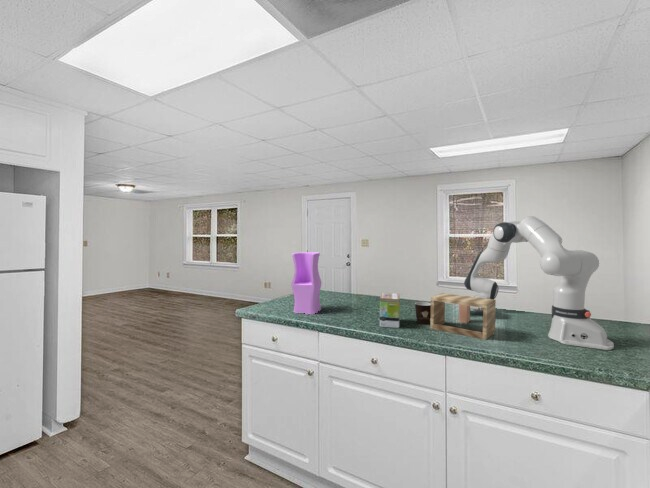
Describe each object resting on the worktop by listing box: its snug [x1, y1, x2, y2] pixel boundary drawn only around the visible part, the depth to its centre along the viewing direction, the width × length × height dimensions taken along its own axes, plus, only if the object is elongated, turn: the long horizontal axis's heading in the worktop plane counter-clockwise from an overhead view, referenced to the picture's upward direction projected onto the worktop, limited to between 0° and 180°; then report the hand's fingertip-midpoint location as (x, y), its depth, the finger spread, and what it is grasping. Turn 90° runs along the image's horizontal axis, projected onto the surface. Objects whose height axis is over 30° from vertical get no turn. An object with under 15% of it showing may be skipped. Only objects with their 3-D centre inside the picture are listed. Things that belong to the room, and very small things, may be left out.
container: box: [291, 251, 322, 315], centre depth 197 cm, size 14×14×35 cm
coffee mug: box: [414, 301, 431, 325], centre depth 172 cm, size 12×9×10 cm
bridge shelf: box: [430, 292, 497, 340], centre depth 159 cm, size 26×14×16 cm, turn 49°
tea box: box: [379, 292, 401, 329], centre depth 171 cm, size 15×10×15 cm
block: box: [458, 304, 471, 324], centre depth 174 cm, size 4×5×11 cm
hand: (470, 307), depth 181 cm, fingers open, 8 cm apart
